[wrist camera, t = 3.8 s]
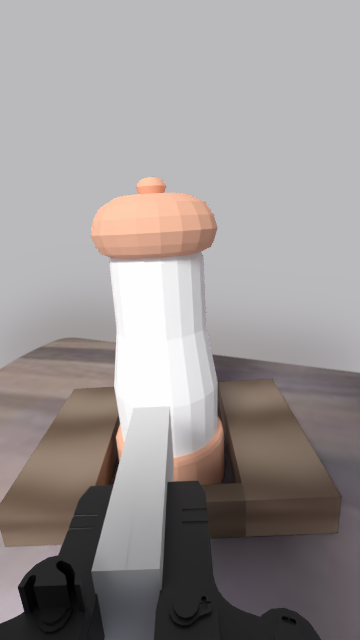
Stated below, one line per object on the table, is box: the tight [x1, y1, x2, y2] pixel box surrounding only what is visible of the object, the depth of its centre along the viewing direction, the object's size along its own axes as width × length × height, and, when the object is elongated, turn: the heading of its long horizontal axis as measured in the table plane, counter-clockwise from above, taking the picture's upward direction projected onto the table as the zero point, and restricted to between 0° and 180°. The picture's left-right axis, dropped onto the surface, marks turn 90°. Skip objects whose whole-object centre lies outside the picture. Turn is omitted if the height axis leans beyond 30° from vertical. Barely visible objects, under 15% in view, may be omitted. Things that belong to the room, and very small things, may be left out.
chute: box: [0, 379, 341, 547], centre depth 24 cm, size 13×18×2 cm
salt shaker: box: [91, 177, 225, 485], centre depth 20 cm, size 7×7×19 cm
